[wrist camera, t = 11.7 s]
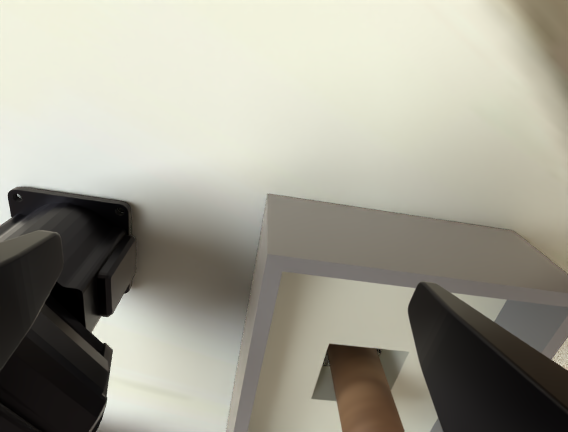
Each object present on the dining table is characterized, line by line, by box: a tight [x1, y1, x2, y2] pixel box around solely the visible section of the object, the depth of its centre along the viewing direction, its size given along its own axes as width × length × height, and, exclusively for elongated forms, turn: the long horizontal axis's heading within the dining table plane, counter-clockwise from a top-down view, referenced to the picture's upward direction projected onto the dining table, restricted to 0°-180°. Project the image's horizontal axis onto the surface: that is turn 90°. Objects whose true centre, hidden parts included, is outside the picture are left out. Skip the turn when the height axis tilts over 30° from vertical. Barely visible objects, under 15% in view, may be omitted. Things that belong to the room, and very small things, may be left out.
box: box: [226, 194, 568, 432], centre depth 24 cm, size 16×22×6 cm
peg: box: [327, 344, 405, 432], centre depth 22 cm, size 4×4×10 cm
